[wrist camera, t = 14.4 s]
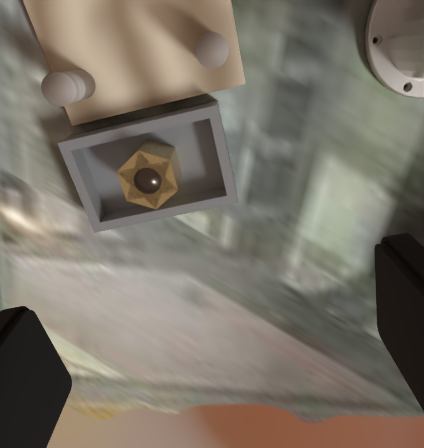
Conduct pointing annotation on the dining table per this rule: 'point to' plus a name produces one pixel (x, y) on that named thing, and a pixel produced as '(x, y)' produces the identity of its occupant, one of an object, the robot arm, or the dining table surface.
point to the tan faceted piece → (150, 174)
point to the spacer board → (134, 53)
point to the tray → (128, 142)
